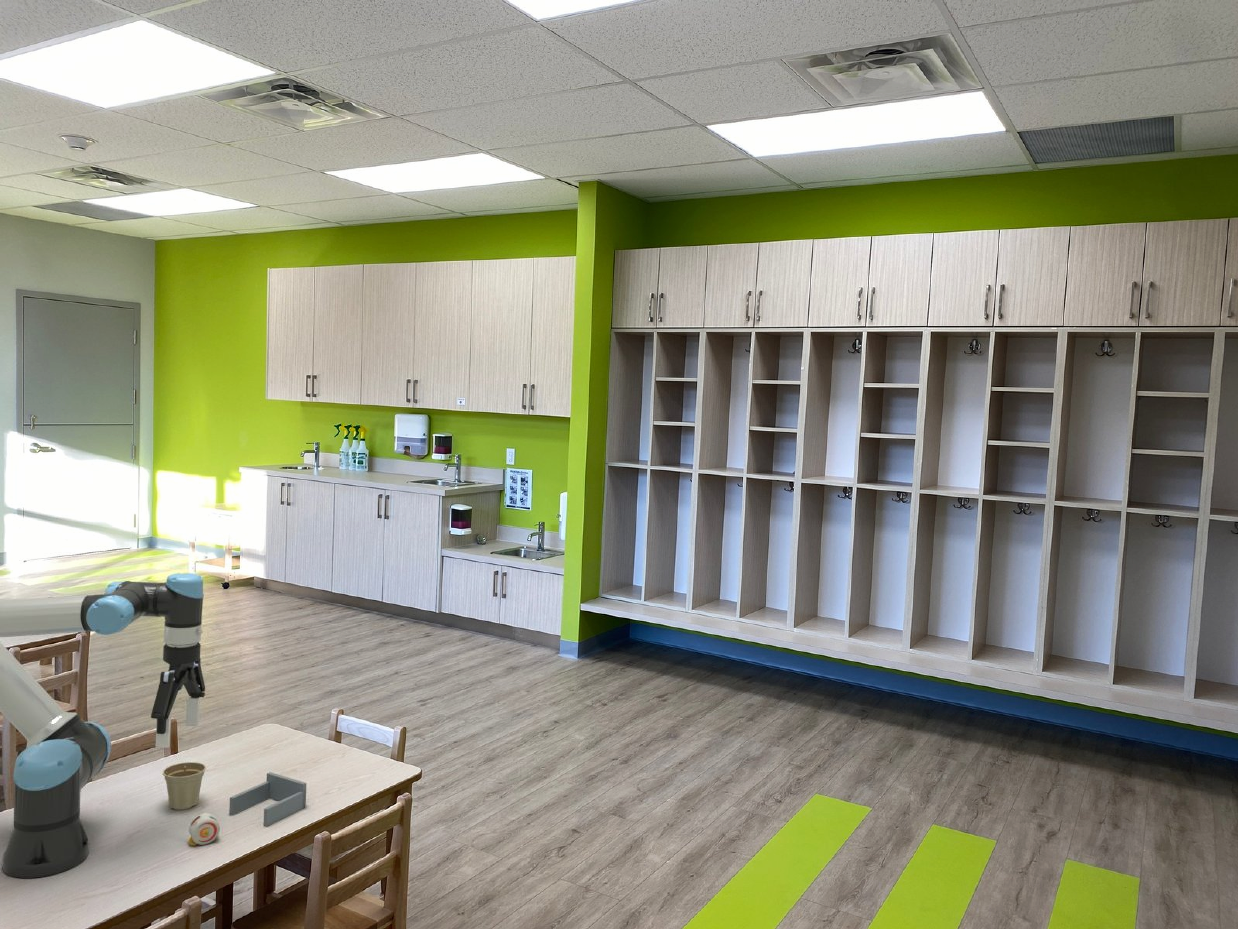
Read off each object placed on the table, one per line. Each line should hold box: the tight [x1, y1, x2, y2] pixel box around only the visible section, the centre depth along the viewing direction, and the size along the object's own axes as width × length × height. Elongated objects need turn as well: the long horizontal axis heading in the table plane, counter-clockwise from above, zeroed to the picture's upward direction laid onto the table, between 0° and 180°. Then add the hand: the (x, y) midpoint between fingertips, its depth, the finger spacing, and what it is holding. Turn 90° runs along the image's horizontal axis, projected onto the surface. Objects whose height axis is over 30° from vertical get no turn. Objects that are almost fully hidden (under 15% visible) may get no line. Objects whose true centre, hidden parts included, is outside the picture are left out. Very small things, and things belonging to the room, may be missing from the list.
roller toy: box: [188, 812, 221, 846], centre depth 198 cm, size 4×6×6 cm
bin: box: [228, 771, 307, 827], centre depth 214 cm, size 12×12×6 cm
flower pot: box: [162, 761, 207, 811], centre depth 215 cm, size 9×9×9 cm
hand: (177, 736), depth 203 cm, fingers open, 13 cm apart
